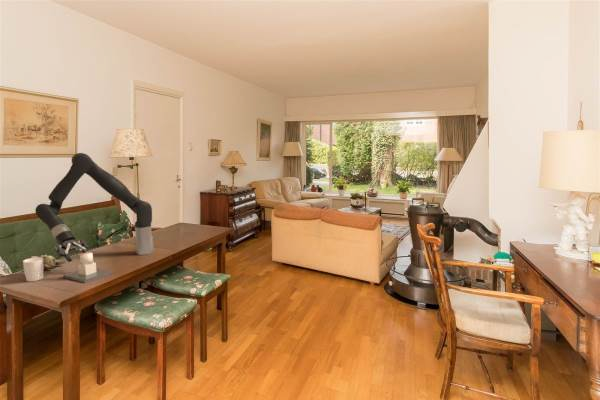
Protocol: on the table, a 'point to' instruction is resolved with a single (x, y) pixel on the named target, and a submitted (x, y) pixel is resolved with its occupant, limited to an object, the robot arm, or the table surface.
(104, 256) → the table surface
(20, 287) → the table surface
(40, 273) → the white cup
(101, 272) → the grey base with post
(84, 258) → the knob
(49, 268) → the ceramic sculpture
